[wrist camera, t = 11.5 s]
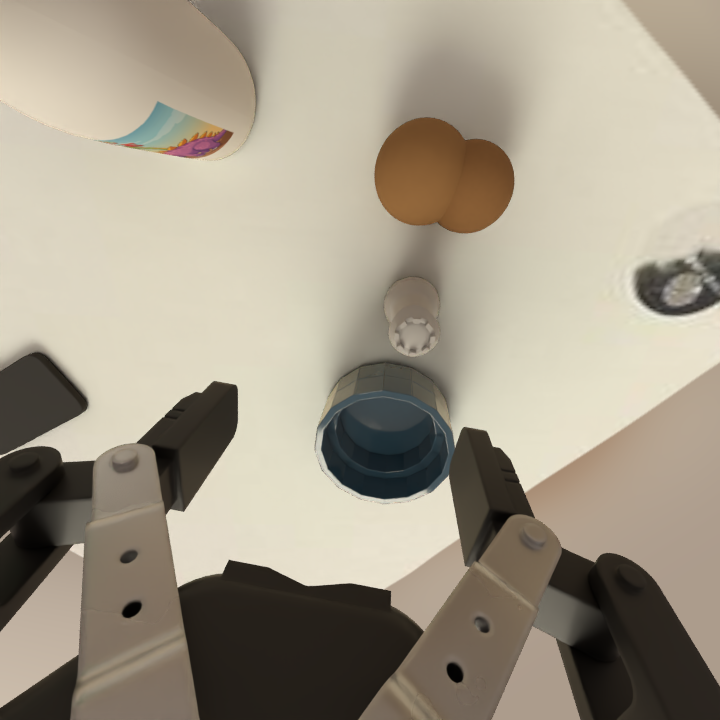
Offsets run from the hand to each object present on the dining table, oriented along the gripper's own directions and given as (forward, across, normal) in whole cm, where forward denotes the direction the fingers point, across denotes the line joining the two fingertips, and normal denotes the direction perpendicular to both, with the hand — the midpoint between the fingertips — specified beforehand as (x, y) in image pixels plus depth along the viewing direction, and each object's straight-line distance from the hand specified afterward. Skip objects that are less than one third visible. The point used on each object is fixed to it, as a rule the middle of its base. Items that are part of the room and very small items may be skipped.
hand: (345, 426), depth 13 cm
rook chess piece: (+18, -3, 0) cm, 19 cm away
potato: (+18, -3, -9) cm, 21 cm away
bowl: (+18, -3, +11) cm, 21 cm away
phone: (+19, +35, +18) cm, 44 cm away
